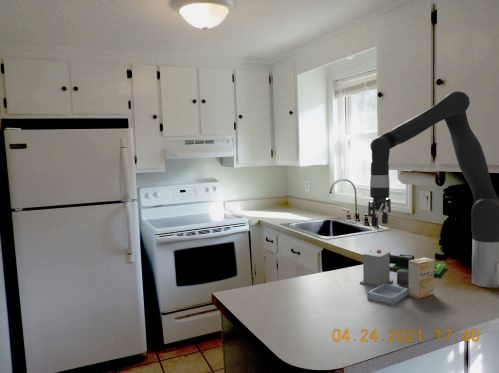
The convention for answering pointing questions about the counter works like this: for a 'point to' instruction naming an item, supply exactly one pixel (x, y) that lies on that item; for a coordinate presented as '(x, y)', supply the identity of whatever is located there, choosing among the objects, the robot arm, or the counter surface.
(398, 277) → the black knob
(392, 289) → the tray
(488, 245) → the robot arm
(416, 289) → the supplement box
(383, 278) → the control box
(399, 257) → the electronic board model
